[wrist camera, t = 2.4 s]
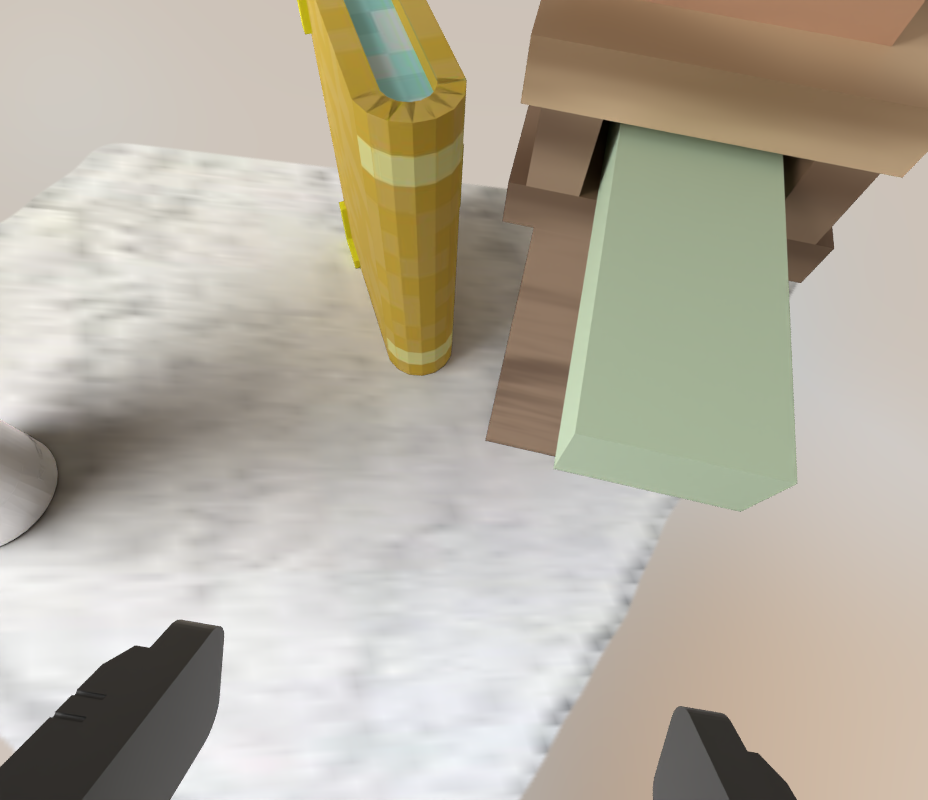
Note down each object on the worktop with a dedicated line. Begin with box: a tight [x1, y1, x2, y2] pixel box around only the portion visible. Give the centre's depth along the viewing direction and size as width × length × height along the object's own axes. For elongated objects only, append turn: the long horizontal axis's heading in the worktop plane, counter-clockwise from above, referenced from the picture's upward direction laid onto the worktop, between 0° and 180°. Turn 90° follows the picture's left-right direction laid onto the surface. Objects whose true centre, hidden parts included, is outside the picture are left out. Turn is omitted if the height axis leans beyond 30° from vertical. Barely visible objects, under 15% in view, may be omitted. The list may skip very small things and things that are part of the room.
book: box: [297, 0, 466, 376], centre depth 40 cm, size 17×7×25 cm, turn 18°
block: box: [553, 121, 797, 512], centre depth 15 cm, size 18×4×2 cm, turn 167°
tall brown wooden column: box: [486, 0, 928, 456], centre depth 29 cm, size 12×9×39 cm
